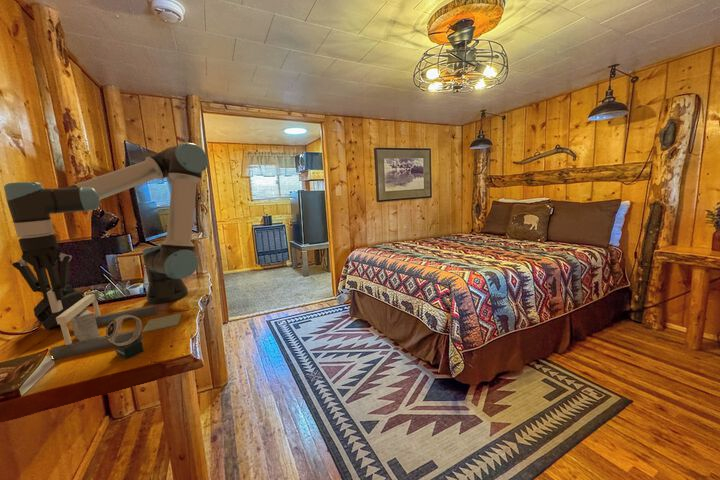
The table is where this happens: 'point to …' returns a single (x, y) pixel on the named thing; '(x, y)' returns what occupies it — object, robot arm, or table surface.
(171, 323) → the mat
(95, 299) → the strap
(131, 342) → the watch
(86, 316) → the medicine box
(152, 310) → the rails
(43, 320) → the tool
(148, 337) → the table surface
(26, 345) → the table surface
